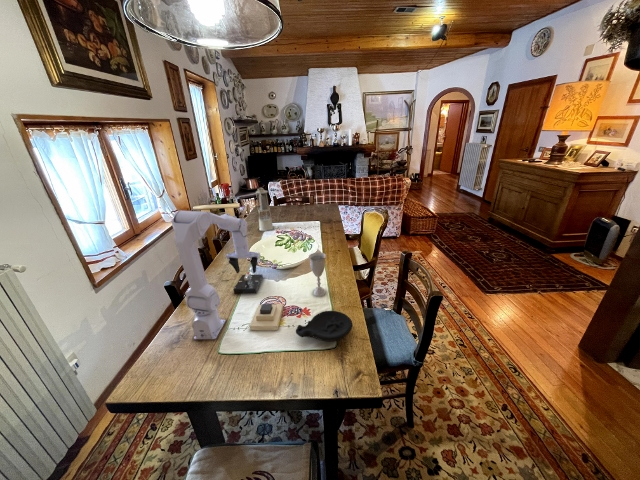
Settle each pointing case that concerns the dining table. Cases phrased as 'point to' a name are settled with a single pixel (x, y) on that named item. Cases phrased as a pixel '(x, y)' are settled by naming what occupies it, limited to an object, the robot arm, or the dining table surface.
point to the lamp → (264, 221)
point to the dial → (247, 278)
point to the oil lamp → (326, 326)
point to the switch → (266, 308)
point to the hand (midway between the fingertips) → (246, 272)
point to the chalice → (318, 270)
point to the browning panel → (248, 285)
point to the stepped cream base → (267, 318)
